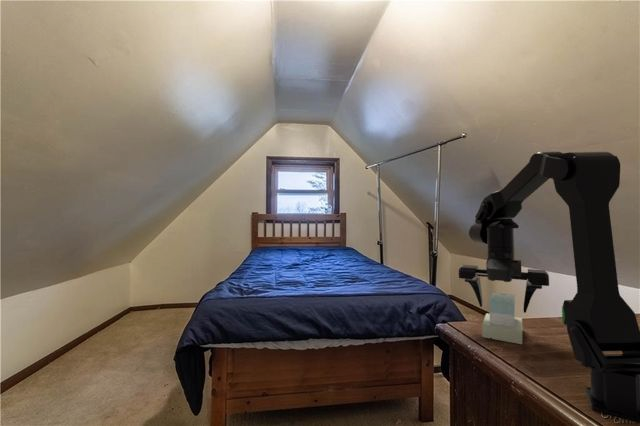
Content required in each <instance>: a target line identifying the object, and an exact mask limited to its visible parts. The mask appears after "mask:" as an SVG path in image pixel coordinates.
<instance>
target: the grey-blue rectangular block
mask: <svg viewBox="0 0 640 426" xmlns="http://www.w3.org/2000/svg"><path fill="white" fill-rule="evenodd" d="M515 296H516V295H515V294H510V293H501V292H500V293H499V292H491V295H490V296H489V299H488V302H489V303H488V305H489V306H488V307H489V309H488V310H489V314H490V325H496V326H502V327H508V328H515V317H516V300H515V299H516V297H515Z"/></svg>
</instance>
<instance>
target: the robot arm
mask: <svg viewBox="0 0 640 426" xmlns="http://www.w3.org/2000/svg"><path fill="white" fill-rule="evenodd" d="M620 178H621V162H620V159H619V157H618V156H617V155H614V154H613V153H611V152H609V151H577V152H576V151H573V152H571V151H570V152H562V151H561V152H560V151H538V152H536V153H533V154H532V155H531V157H530V158H529V162H528V163H526V165H525V166H523V168H522V169H521V170H520V171H519V172H518V173H517V174H516V175H515V176H514V177H513V178H512V179H511V180H510V181H509V182H508V183H507V184H506V185H505V186H504V187H502V189H500V190H497V191H493V192H491V193H489V194H488V195H486V196H485V197H484V198H483V199H482V202H481V203H480V206H479V209H478V211H477V213H476V215H475V216H474V217H475V219H474V220H475V221H474V223H473V224H472V225H471V226H470V227H469V230H468V236H469V238H470V239H471V241H473V242H475V243H478V244H484V245H487V246H486V247H487V249H486V250H487V260H486V264H485V265H486V268H485V269H484V268H483V269H481V268H479V266H478V265H471V264H463V265H462V266H461V267H459V269H458V278H459V279H463V280H464V282H465V283H468V284H469V285H470V286H471V287H472V290H473V292H474V294H475V296H476V299H477V302H478V304H479V307H480V308H483V293H482V283H481V278H480V277H482V278H483V277H484V278H485V277H486V278H487V280H488V281H493V282H495V281H500V282H501V281H502V282H504V283H510V282H512V280H520V281H526V284H525V291H524V298H523V313H527V310H528V307H529V304H530V303H531V299H532V297H533V295H534V293H535V292H536V291H537V290H541V289H543V286H544V287H549V286H550V277H549V276H550V274H549V273H548V272H547V271H546V270H545V269H536V268H535V269H534V268H533V269H532V268H527V272H526V271H525V272H524V271H522V260H519V259H515V239H514V238H515V234H514V232H515V231H514V230H515V229H519V224H518V223H516V222H515V221H514V220H513V219H515V218H516V216H517V215H518V214H519V213H520V212H521V210H522V209H523V205H522V203H524V201H525V200H527V198H529V197H530V196H531V195H532V194H533V193H535V191H537V190H538V189H539V188H540V187H542V186H543V185H544V184H545V183H546V182H547V181H548V180H549V179H552V180H553V184H554V185H553V186H554V189H555V192H556V193H557V194H558V196H559V197H560V198H561V199H562V200H563V201H564V202H565V204H566V205H567V206H568V210H569V219H570V220H569V221H570V230H571V239H572V240H571V241H572V248H573V249H572V250H573V251H572V252H573V259H574V268H575V278H576V279H575V281H576V289H577V290H576V291H577V292H576V293H575V295H574V297H573V298H572V299H567V300H565V299H564V301H563V303H562V306H563V308H564V313H565V320H564V323H563V325H565V326H566V330H567V334H568V337H569V338H568V339H569V341H570V345H571V348H572V351H573V355H574V358H575V359H576V360H577V361H579V362H581V366H583V367H585V368H589V369H590V386H585V387H584V390H585V393H586V397H587V400H588V402H589V405H590V407H591V409H592V410H594V411H597V412H600V413H605V414H608V415H614V416H617V417H620V418H625V419H629V420H632V421H636V422H640V327H639V322H638V319H637V315H636V314H635V311H634V310H633V309H632V308H631V307H630V306H629V304H628V303H627V302H626V301H625V299H624V298H623V297H622V296H621V294H620V291H619V280H618V272H617V264H616V254H615V246H614V237H613V230H612V229H613V228H612V221H611V212H610V202H611V201H612V199H613V197H614V195H615V194H616V192H617V191H618V189H619V188H620V182H621V179H620ZM604 352H621V353H607V354H606V353H604Z"/></svg>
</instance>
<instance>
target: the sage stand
mask: <svg viewBox="0 0 640 426" xmlns="http://www.w3.org/2000/svg"><path fill="white" fill-rule="evenodd" d="M481 328H482V329H481V337H482V338H485V339H490V338H492V339H491V340H497V341H500V342H501V341H502V342H507V343H513V344H519V345H523V317H516V316H515V328H508V327H502V326H496V325H490V313H485V315H484V318H483V321H482V323H481Z"/></svg>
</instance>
